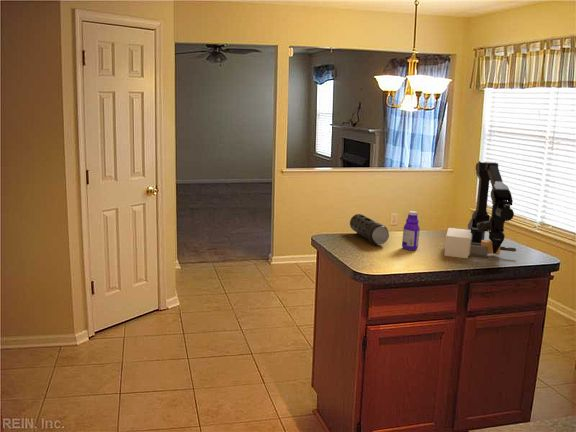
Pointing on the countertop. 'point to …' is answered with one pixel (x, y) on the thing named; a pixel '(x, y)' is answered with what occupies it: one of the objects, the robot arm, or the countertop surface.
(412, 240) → the bottle
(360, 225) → the muzzle brake
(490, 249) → the plug
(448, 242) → the socket box
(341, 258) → the countertop surface
